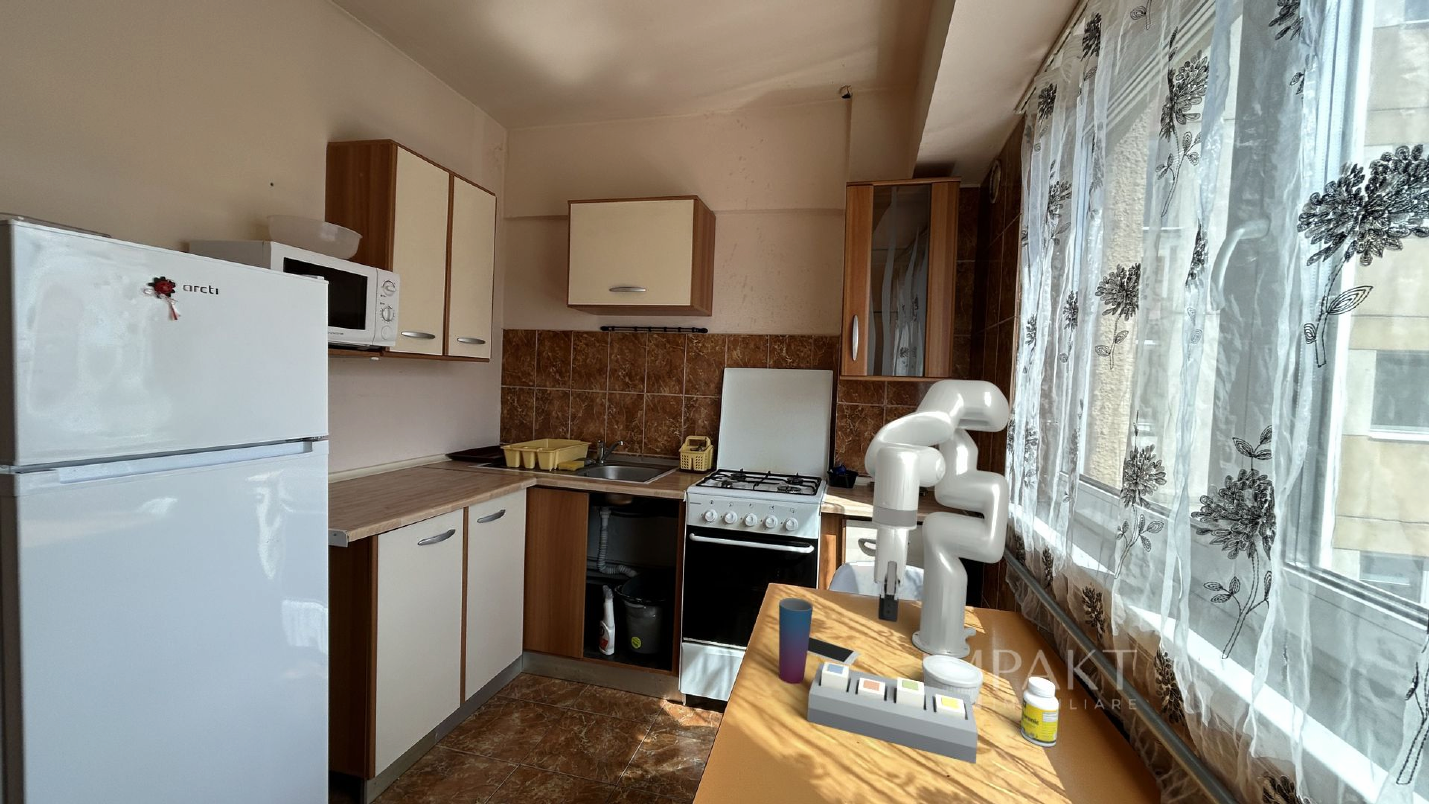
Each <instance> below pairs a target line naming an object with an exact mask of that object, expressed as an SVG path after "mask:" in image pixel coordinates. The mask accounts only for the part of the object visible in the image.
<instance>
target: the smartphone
mask: <svg viewBox="0 0 1429 804" xmlns="http://www.w3.org/2000/svg"><path fill="white" fill-rule="evenodd" d="M807 654H811V655H814V656H816V655H817V657H820V658H823V659H826V660H830V661H832V662H835V663H837V664H840V665H844V666H848V667H850V666H852V664H854V662H855V661H856V660H857V659H858V658H859V656H860V655H861V653H860V652H859V651H858V650H857V651H856V650H852V649H849V648H847V647H844V646H840V645H837V644H834V643H830V642H827V641H825V640H821V639H818V638H815V637H811V636H809V642H808V650H807ZM857 657H858V658H857ZM856 658H857V659H856Z"/></svg>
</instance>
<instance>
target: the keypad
mask: <svg viewBox="0 0 1429 804" xmlns="http://www.w3.org/2000/svg"><path fill="white" fill-rule="evenodd" d="M824 664H825V663H822V662H819V663H818V667H817V668H816V672H815V675H814V678H813V681H812V683H811V685H810V690H809V693H808V703H807V704H808V707H807V722H810V723H813V724H816V725H821V726H825V727H829V728H833V729H836V730H840V731H843V732H844V731H845V732H848V733H853V734H856V735H859V736H865V737H868V738H872V739H876V740H880V741H884V742H888V743H891V744H892V743H893V744H896V745H900V746H903V747H904V746H905V747H908V748H912V749H916V750H920V751H923V752H926V753H927V752H928V753H932V754H935V755H940V756H944V757H947V758H952V759H956V760H959V761H963V762H966V763H971V764H975V765H976V763H977V752H978V751H977V750H978V749H977V748H978V737H979V736H978V735H979V733H978V727H977V723H976V722H977V721H976V717H975V714H974V710H973V709H974V708H973V704H971V699H970V695H966V694H961V693H956V692H952V691H947V690H943V689H938V688H933V687H929V686H925V685H924V708H923V710H922V709H918V708H914V707H909V706H905V705H901V704H896V697H897V680H898V679H895V678H891V677H887V676H882V675H877V674H872V673H867V672H864V671H859V670H854V669H850V668H849V676H848V685H847V690H846V692H844V691H840V690H835V689H831V688H827V687H822V686H821V679H822V671H823V667H824ZM860 678H865V679H870V680H874V681H879V682H883V683H885V691H884V701H883V700H879V699H874V698H870V697H866V696H861V695H858V688H859V682H860ZM936 694H938V695H942V696H947V697H951V698H956V699H961V700H963V704H964V709H965V719H962V718H957V717H953V716H948V715H944V714H940V713H935V697H936Z"/></svg>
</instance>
